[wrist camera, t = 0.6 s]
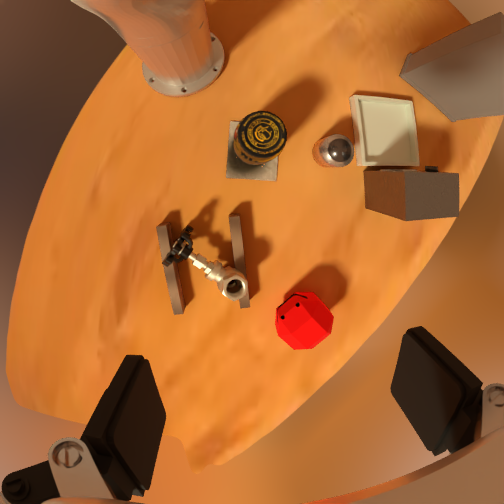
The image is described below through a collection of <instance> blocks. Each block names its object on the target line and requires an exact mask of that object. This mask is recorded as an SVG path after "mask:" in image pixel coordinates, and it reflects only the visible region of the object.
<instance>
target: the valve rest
mask: <svg viewBox="0 0 504 504" xmlns="http://www.w3.org/2000/svg"><path fill="white" fill-rule="evenodd" d="M229 223H230V231H231V240H232V248H233V256H234V263H235V269H238V270H239V271H241V272H242V273H243V275H244V277H245V279H246V280H247V276H246V267H245V259H244V250H243V242H242V233H241V224H240V215H239V214H231V215H229ZM156 228H157V234H158V240H159V245H160V251H161V256H162V261H163V260H164V259H165V257H167V256H166V255H167V253H169V252H170V250H171V248H172V247H173V238H172V232H171V226H170V222H169V223H162V224H160V225H158V226H157V227H156ZM174 257H175V258H176V256H175V255H174ZM163 266H164V271H165V276H166V281H167V286H168V290H169V295H170V299H171V304H172V308H173V312H174V315H176V314H183V313H184V310H185V307H186V306H185V302H184V297H183V292H182V287H181V282H180V277H179V272H178V266H177V263H175V262H172V264H171V265H169V266H168V267H166V266H165V265H163ZM239 283H240V280H238V279H237V286H239ZM239 301H240V308H248V307H250V301H249V293H248V286H247V294H246V296H244V297H242V298H240V299H239Z"/></svg>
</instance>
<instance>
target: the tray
mask: <svg viewBox="0 0 504 504" xmlns="http://www.w3.org/2000/svg"><path fill="white" fill-rule="evenodd" d="M349 101H350V107H351V115H352V122H353V130H354V139H355V149H356V160H357V166H420V163H419V150H418V140H417V131H416V123H415V115H414V109H413V102H412V101H408V100H401V99H393V98H384V97H375V96H363V95H353V96H351V97H350V98H349Z"/></svg>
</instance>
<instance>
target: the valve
mask: <svg viewBox="0 0 504 504" xmlns="http://www.w3.org/2000/svg"><path fill="white" fill-rule="evenodd" d="M189 231H190V232H192V231H193V228H192V227H191V226H189V225H187V226H186V228H184V229H183V231H182V232H181V234H180V237H179V238H178V239H176V241H175V242H174V244H173V247H172V248H171V250H170V252H169V253H167V255H166V256H167V257H165V259H164V260H163V262H162V264H163V265H165V266H166V267H168V266H169V265H171V264H172V262H175V263H179V262H181V261H182V260H183V259H185V260H186V259H187V258H190V259H191V260H193V262H192V264H194V265H195V266H197V267H198V268H200V269H201V267H202V268H203V269H204V272H206V274H205V277H206V278H207V279H209V280H210V281H212V280H214V281H216V282H217V286H218V289H219V290H220V291H221V293H222V294H223V295H225V296H226V297H228V298H229V299H231V300H233V301H236V300H238V299H240V298H242V297H244V296H246V294H247V286H248V281H247V280H246V279H245V277H244V275H243V273H242V272H241V271H239V270H238V269H235V268H232V267H231V266H227V267H225V268H224V267H222V263H220V262H219V261H217V260H215V261H214V262H211V261H209V262H208V261H206V260H207V259H206V258H205V257H204V256H202V255H201V254H197V255H196V254H195V253H193V252H192V251H193V248H192V245H193V241H192V239H191V238H190V235H191V234H189V233H190V232H189ZM184 240H185V241H187V242H188V243H189V245H188V244H186V243H183V242H184ZM175 254H177V255H179V256H180V258H179V259H177V258H175V257H174V255H175ZM234 279H236V280H235V282H234V283H233V284H230V285H227V284H228V283H229V282H230V281H231V280H234ZM237 279H238V280H240V283H239V286H237Z"/></svg>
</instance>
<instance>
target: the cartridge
mask: <svg viewBox="0 0 504 504" xmlns="http://www.w3.org/2000/svg"><path fill="white" fill-rule="evenodd" d="M312 154H313V158H314V160H315V161H316V162H317V163H318V164H319V165H320V166H323V167H343V166H346V165H348V164H349V163H350V162H351V161H352V159H353V156H354V147H353V144H352V143H351V141H350V140H349V139H348V138H347V137H346V136H344V135H341V134H334V135H331V136H328V137H326V138H323V139H320V140H318V141H317V142H316V143H315V144H314V146H313V150H312Z"/></svg>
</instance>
